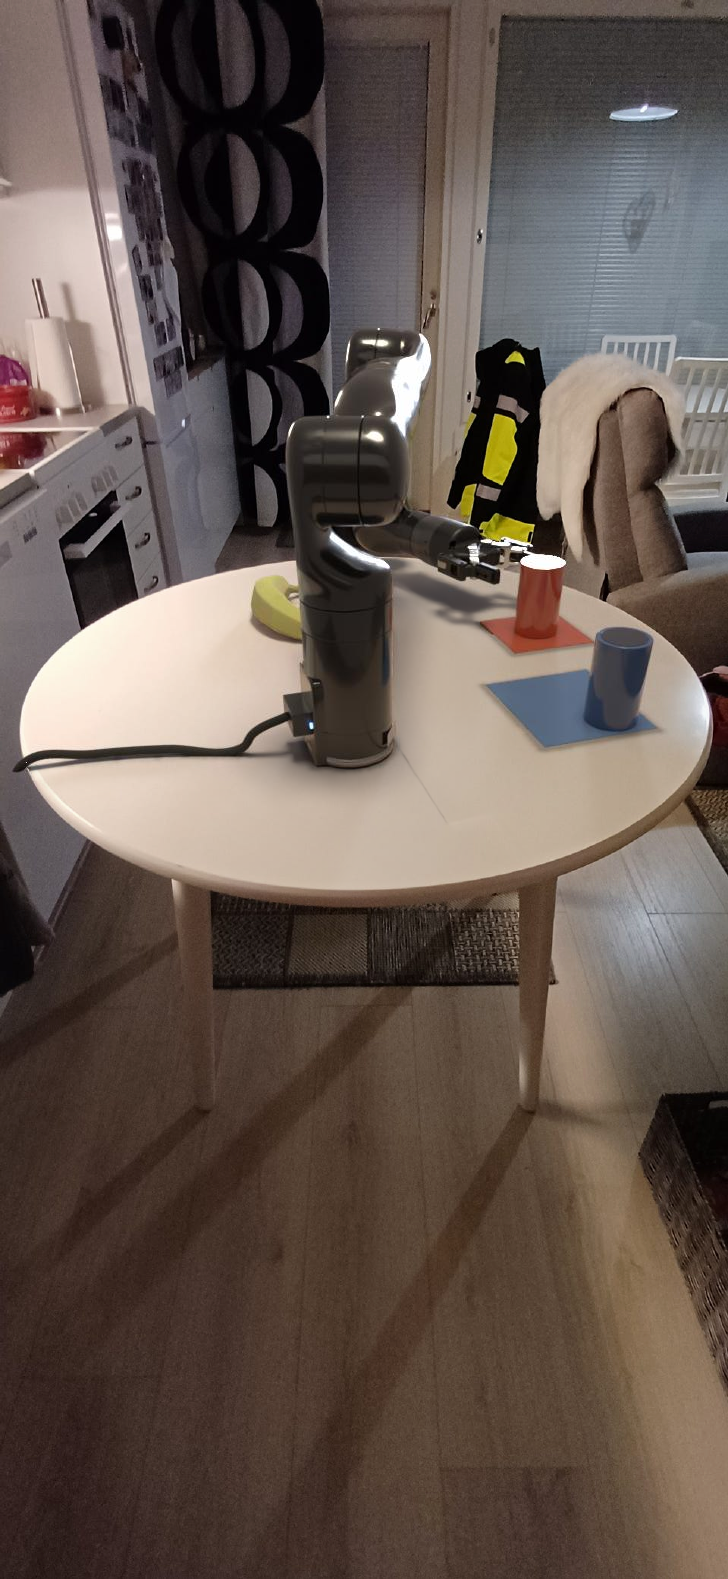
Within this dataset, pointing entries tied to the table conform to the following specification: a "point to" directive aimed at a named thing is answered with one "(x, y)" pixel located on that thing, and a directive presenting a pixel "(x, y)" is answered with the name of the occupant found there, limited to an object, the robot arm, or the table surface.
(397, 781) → the table surface
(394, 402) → the robot arm
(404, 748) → the table surface
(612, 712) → the blue cup
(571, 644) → the red mat
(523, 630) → the red cup
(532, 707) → the blue mat
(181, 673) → the table surface
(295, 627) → the banana
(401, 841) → the table surface
